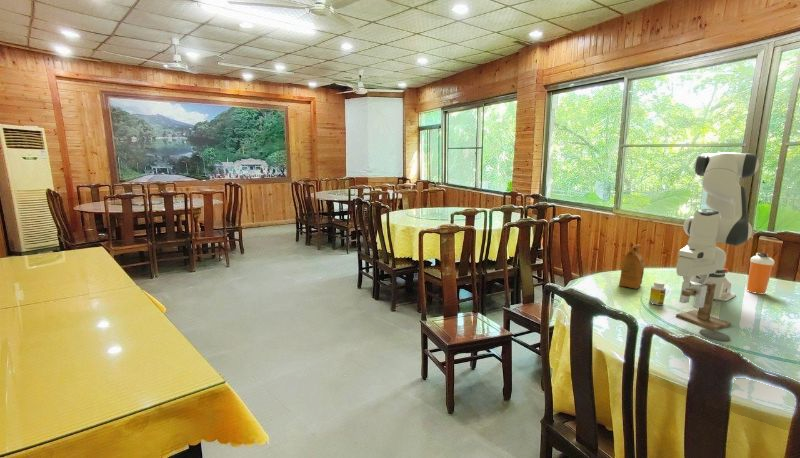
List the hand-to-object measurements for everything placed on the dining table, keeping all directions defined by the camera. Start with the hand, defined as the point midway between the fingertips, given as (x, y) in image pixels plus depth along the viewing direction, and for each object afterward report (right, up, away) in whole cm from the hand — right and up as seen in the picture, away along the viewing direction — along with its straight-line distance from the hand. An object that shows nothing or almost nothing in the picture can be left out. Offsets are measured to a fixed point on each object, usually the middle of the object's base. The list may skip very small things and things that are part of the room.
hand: (694, 285), depth 153 cm
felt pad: (+3, -18, -6) cm, 19 cm away
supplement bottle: (+2, -12, +26) cm, 28 cm away
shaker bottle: (+67, -10, +46) cm, 82 cm away
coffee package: (+5, -8, +50) cm, 51 cm away
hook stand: (+4, -16, +5) cm, 17 cm away
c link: (0, -8, +2) cm, 8 cm away
